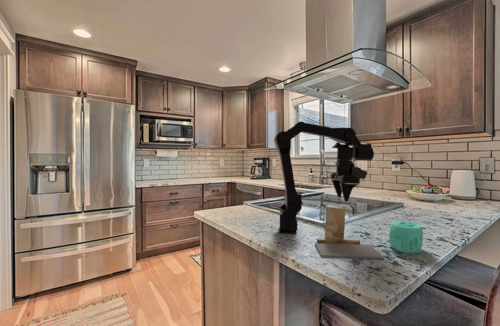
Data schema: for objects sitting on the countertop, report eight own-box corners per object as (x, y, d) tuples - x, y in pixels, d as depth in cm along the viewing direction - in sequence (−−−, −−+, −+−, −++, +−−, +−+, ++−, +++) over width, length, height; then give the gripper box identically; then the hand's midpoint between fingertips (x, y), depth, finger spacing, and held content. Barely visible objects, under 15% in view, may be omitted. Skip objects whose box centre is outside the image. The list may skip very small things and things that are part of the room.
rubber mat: (321, 257, 71) (321, 255, 71) (314, 244, 81) (314, 242, 81) (384, 259, 69) (384, 257, 69) (369, 246, 79) (369, 244, 79)
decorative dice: (388, 249, 77) (389, 224, 77) (394, 242, 83) (395, 219, 83) (418, 256, 72) (419, 230, 72) (422, 248, 78) (423, 224, 78)
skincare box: (324, 240, 85) (324, 206, 84) (326, 237, 89) (327, 204, 88) (343, 243, 82) (344, 208, 81) (345, 239, 86) (345, 206, 85)
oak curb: (317, 244, 81) (317, 239, 81) (316, 243, 82) (316, 238, 82) (359, 245, 80) (360, 241, 80) (358, 244, 81) (358, 239, 81)
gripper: (375, 161, 85) (373, 204, 85) (357, 160, 103) (355, 196, 104) (343, 160, 86) (341, 203, 86) (330, 159, 104) (329, 195, 105)
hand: (342, 199), depth 95 cm, fingers open, 9 cm apart
